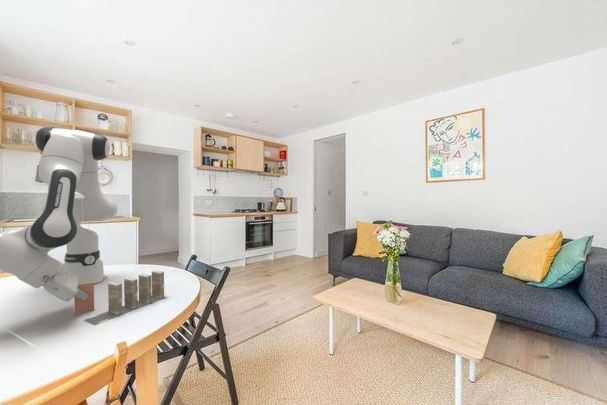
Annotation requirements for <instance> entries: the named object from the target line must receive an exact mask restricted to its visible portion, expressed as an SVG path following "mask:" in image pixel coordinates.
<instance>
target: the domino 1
mask: <svg viewBox="0 0 607 405" xmlns="http://www.w3.org/2000/svg"><path fill="white" fill-rule="evenodd" d="M107 290H108V291H107V292H108V294H107V295H108V296H107V302H108V303H107V304H108V306H107V307H108V310H107V311H109V313H112V314H115V315H119V314H122V306H123V283H122V282H117V281H110V282H107Z"/></svg>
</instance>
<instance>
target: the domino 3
mask: <svg viewBox="0 0 607 405" xmlns="http://www.w3.org/2000/svg"><path fill="white" fill-rule="evenodd" d="M138 301H139V302H142V303H146V304H148V303H151V302H152V274H147V273H140V274H138Z"/></svg>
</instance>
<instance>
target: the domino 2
mask: <svg viewBox="0 0 607 405" xmlns="http://www.w3.org/2000/svg"><path fill="white" fill-rule="evenodd" d="M123 289H124V290H123V293H124V294H123V298H124V302H123V303H124V304H123V306H124V307H127V308H130V309H135V308H138V301H139V285H138V278H134V277H130V276H129V277H125V278H123Z"/></svg>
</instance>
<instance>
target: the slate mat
mask: <svg viewBox="0 0 607 405" xmlns="http://www.w3.org/2000/svg"><path fill="white" fill-rule="evenodd" d="M168 298H169V297H168V296H164V298H162V299H158V298H155V297H152V302H151V303H148V304H146V303H142V302H139V300H138V308H135V309H130V308H127V307H124V305H122V314H119V315H115V314H112V313H109V311H108V310H107V311H106V312H102V313H99V314H97V315H93V316H90V317H87V318H86V319H83V320H82V321H83V322H86V323H89V324H91V325H93V326H97V325H100V324H101V323H104V322H107V321H110V320H112V319H115V318H117V317H121V316H123V315H125V314H127V313H132V312H133V311H135V310H138V309H141V308H144V307H147V306H149V305H152V304H154V303H157V302H159V301H163V300H164V299H168Z"/></svg>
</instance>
